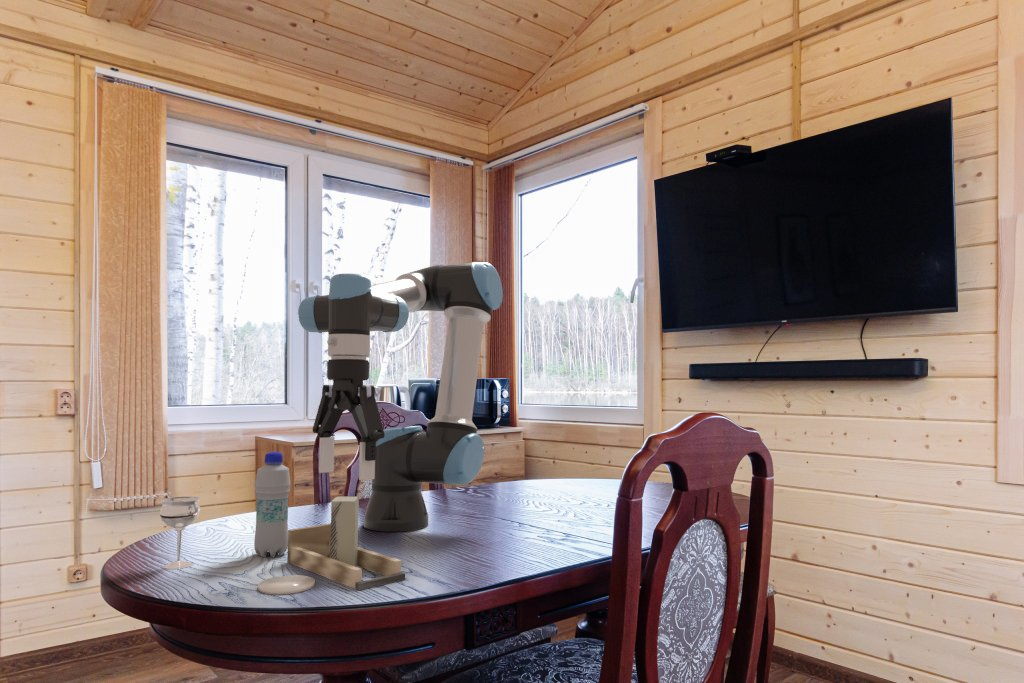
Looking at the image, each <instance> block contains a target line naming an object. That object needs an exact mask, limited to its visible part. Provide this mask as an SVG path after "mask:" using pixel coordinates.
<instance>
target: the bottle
mask: <svg viewBox="0 0 1024 683" xmlns="http://www.w3.org/2000/svg"><path fill="white" fill-rule="evenodd" d="M283 460H284V457H283V453H282V452H279V451H270V452H267V453H266V454H265V456H264V465H263V466H261V467H259V468H258V469H257V471H256V479H255V481H254V482H255V483H254V488H255V491H254V492H255V494H256V505H255V506H256V510H255V512H256V514H255V531H254V541H253V542H254V544H253V545H254V546H253V547H254V551H255V554H256V555H257V556H261V557H262V558H266V557H267V554H268V553H269V554H270V557H271V558H274V557H275V556H276V553H277V555H278V556H282V555H283V554H285V553H286V551H288V530H289V522H288V520H289V519H288V517H289V493H290V492H291V485H292V484H291V475H290V468H289V467H288V466H285V465H284V464H283V462H284V461H283Z"/></svg>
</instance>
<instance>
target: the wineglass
mask: <svg viewBox="0 0 1024 683" xmlns="http://www.w3.org/2000/svg"><path fill="white" fill-rule="evenodd" d="M200 500H201V497H198V496H173V497H172V496H171V497H167V498H163V499H161V500H160V503H161V505H162V506H161V508H160V510H159V516H160V519H161V521H163V523H165V525H167V526H169V527H170V528H174V530H175V532H176V533H177V534H176V537H177V538H176V540H177V545H176V546H177V549H176V550H177V555H176V556H177V560H176V561H175V560H174V561H173V562H169V563H166V564H165V565H164V566H163V568H164V569H167V570H179V569H184V568H185V569H187V568H189V567H191V566H193V565H194V563H193V562H189V561H184V560H181V549H182V547H181V546H182V535H183V531H184V530H185V528H186V527H188V526H190V525H192V524H193V523H194V522H195V521H196V520H197V519H198V518H199V515H200V512H201V506H200V504H199V501H200Z"/></svg>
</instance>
